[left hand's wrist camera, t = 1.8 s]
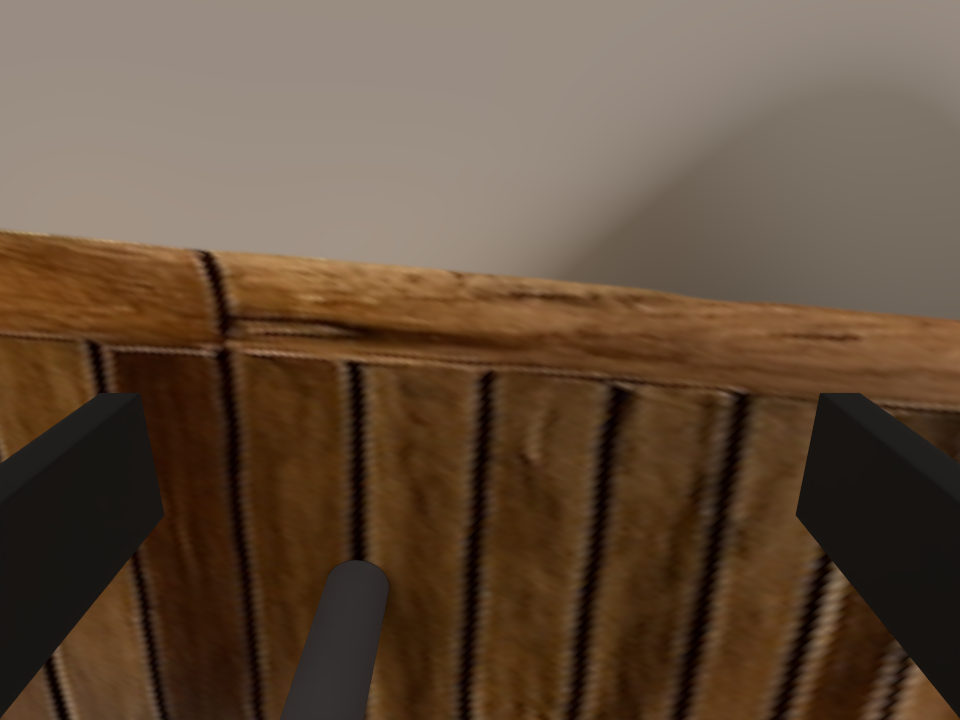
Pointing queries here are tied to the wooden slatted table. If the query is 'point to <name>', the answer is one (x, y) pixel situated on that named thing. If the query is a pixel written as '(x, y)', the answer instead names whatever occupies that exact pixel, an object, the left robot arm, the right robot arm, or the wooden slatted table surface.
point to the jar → (340, 646)
